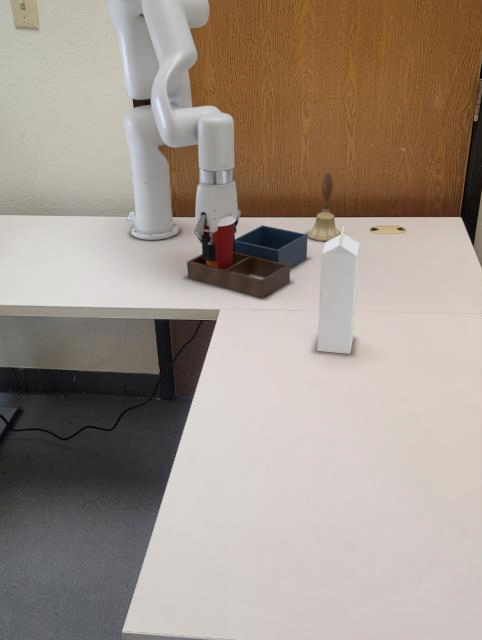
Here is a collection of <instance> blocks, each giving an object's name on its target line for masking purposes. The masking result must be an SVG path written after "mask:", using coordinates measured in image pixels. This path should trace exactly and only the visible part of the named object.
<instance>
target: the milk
mask: <svg viewBox="0 0 482 640" xmlns="http://www.w3.org/2000/svg"><path fill="white" fill-rule="evenodd" d="M360 249H361V244H360V243H359V242H358V241H357V240H354V238H352V237H350V236H349V235H347V234H346V233H345V225H343V226H342V229H341V232H340V235H339V236H337V237H335V238H333V239H331V240H329V241H325V243H324V247H323V249H322V251H321V259H320V260H321V262H320V263H321V264H320V280H319V281H320V285H319V304H318V305H319V306H318V329H317V348H316V349H317V350H316V351H318V352H323V353H324V352H325V353H336V354H348V355H350V354H351V350H352V346H353V341H354V333H355V317H356V305H357V304H356V303H357V291H358V290H357V289H358V276H359V263H360Z"/></svg>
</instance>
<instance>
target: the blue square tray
mask: <svg viewBox="0 0 482 640" xmlns="http://www.w3.org/2000/svg"><path fill="white" fill-rule="evenodd" d="M308 237H309V236H308V233H301V232H298V231H297V232H296V231H293V230H289V229H282V228H277V227H272V226H268V225H263V224H262V225H260V226H258V227H255V228H253V229H252V230H250V231H248V232H246V233H244V234H242V235H240V236H238V237H235V251H233V252H237V253H241V254H245V255H249V256H254V257H258V258H262V259H266V260H271V261H275V262H279V263H284V264H288V265H290V270H291V269H292V268H294V267H296V266H297V265H298V264H300V263H302V262H304V261H305V260H308V259H307V258H308Z"/></svg>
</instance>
